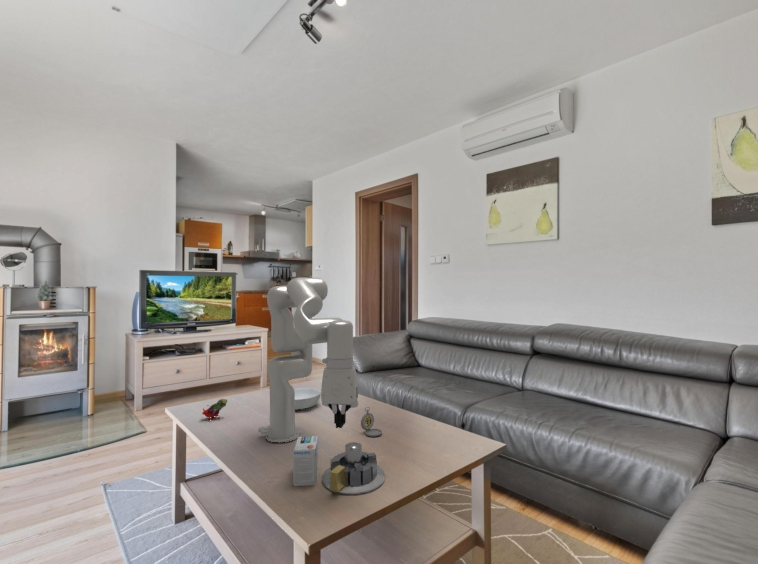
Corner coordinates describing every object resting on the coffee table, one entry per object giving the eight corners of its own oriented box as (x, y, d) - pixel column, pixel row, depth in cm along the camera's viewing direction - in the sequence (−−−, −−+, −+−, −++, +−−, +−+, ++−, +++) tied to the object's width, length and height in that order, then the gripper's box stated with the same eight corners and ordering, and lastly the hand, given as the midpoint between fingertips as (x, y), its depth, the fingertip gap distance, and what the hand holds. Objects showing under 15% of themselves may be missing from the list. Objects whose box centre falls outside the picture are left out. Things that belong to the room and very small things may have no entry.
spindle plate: (320, 497, 107) (320, 461, 107) (324, 465, 126) (323, 435, 126) (388, 493, 109) (387, 457, 109) (381, 462, 128) (381, 432, 128)
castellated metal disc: (329, 465, 124) (329, 449, 124) (373, 462, 126) (373, 446, 126) (330, 492, 107) (329, 474, 107) (380, 488, 109) (380, 470, 109)
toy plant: (218, 429, 172) (230, 412, 168) (196, 423, 168) (207, 405, 164) (221, 415, 179) (232, 398, 175) (200, 409, 175) (210, 391, 171)
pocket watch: (380, 438, 149) (379, 412, 149) (359, 436, 150) (358, 411, 151) (384, 430, 157) (383, 405, 157) (364, 429, 159) (363, 404, 159)
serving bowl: (286, 400, 200) (286, 387, 200) (325, 401, 198) (325, 388, 198) (270, 413, 180) (270, 398, 180) (313, 414, 177) (313, 399, 177)
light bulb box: (297, 469, 124) (297, 436, 124) (318, 468, 124) (318, 435, 125) (292, 486, 113) (292, 450, 113) (315, 485, 114) (315, 448, 114)
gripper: (311, 365, 109) (310, 429, 109) (362, 367, 107) (362, 433, 107) (319, 359, 117) (319, 420, 117) (367, 361, 114) (367, 423, 114)
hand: (339, 426), depth 112 cm, fingers closed
